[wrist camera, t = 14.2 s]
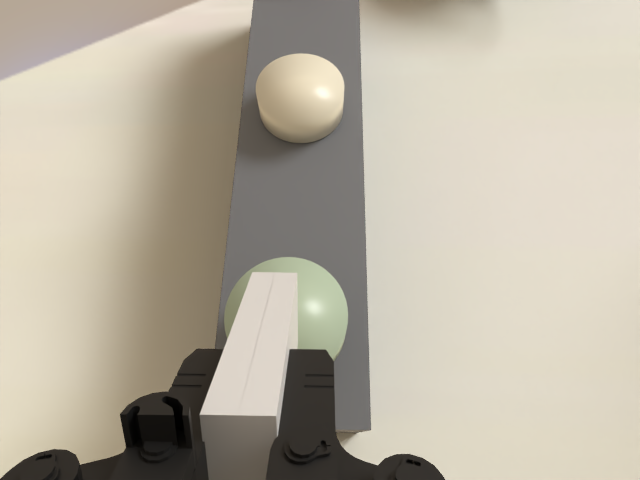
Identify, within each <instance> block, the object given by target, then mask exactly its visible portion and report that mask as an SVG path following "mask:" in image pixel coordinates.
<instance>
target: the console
mask: <svg viewBox="0 0 640 480" xmlns="http://www.w3.org/2000/svg"><path fill="white" fill-rule="evenodd" d="M299 53H303V54H312V55H316V56H319V57H322V58H324V59H326V60H328V61H329V62H331V63H332V64H333V65H335V66H336V68H337V69H338V70H339V71H340V73H341V75H342V77H343V80H344V103H343V115H342V118H341V121H340V123H339V124H338V126H337V127H336V128H335V130H334V131H333V132H331V133H330V134H329V135H327V136H326V137H324V138H322V139H320V140H317V141H313V142H309V143H292V142H288V141H284V140H282V139H279V138H277V137H276V136H274V135H273V134H272V133H270V132H269V131H268V130H267V129H266V127H265V126H264V124H263V122H262V120H261V116H260V111H259V106H258V101H257V96H256V82H257V79H258V76H259V75H260V73H261V72H262V70H263V69H264V68H265V67H266V66H267V65H268V64H269V63H271V62H272V61H274V60H276V59H278V58H280V57H283V56H286V55H290V54H299ZM280 257H296V258H302V259H306V260H309V261H312V262H314V263H316V264H318V265H319V266H321V267H323V268H324V269H325V270H327V271H328V272H329V273H330V274H331V275H332V276H333V277H334V278H335V279H336V281H337V282H338V284H339V285H340V287H341V289H342V291H343V293H344V296H345V298H346V302H347V307H348V325H347V330H346V335H345V340H344V343H343V346H342V349H341V351H340V353H339V355H338V356H337V358H336V359H335V361H334V389H335V431H336V432H356V433H358V432H363V431H369V430H371V415H370V378H369V342H368V306H367V270H366V234H365V198H364V162H363V125H362V89H361V53H360V17H359V0H254V1H253V10H252V19H251V28H250V37H249V47H248V56H247V65H246V74H245V83H244V92H243V101H242V110H241V119H240V128H239V137H238V146H237V155H236V164H235V173H234V182H233V191H232V200H231V209H230V218H229V227H228V236H227V245H226V254H225V263H224V272H223V281H222V290H221V299H220V308H219V317H218V326H217V335H216V344H215V349H224V347H225V345H226V342H227V336H226V332H225V325H224V314H225V308H226V304H227V300H228V298H229V295H230V293H231V291H232V289H233V288H234V286H235V284H236V283H237V282H238V281H239V279H240V278H241V277H242V276H243V275H244V274H245V273H246V272H248V271H249V270H250V269H252V268H253V267H255V266H257V265H258V264H260V263H262V262H265V261H267V260H271V259H275V258H280Z"/></svg>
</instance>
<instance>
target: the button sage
mask: <svg viewBox="0 0 640 480" xmlns="http://www.w3.org/2000/svg"><path fill="white" fill-rule="evenodd" d="M252 272H281V273H297V288H298V348H297V349H326V350H327V352H328V353H329V355H330V356H331V358H332V359H333V361H335V359H336V358H337V356H338V355H339V353H340V351H341V349H342V346H343V343H344V340H345V335H346V330H347V325H348V307H347V302H346V298H345V296H344V293H343V291H342V289H341V287H340V285H339V284H338V282H337V281H336V279H335V278H334V277H333V276H332V275H331V274H330V273H329V272H328V271H327V270H325V269H324V268H323V267H321V266H319V265H318V264H316V263H314V262H312V261H309V260H306V259H302V258H296V257H280V258H275V259H271V260H267V261H265V262H262V263H260V264H258V265H257V266H255V267H253V268H252V269H250V270H249V271H248V272H246V273H245V274H244V275H243V276H242V277H241V278H240V279H239V281H238V282H237V283H236V284H235V286H234V288H233V289H232V291H231V293H230V295H229V298H228V300H227V304H226V308H225V314H224V325H225V332H226V336H227V339H228V336H229V334H230V331H231V328H232V326H233V323H234V320H235V318H236V315H237V312H238V309H239V307H240V304H241V301H242V299H243V296H244V293H245V291H246V288H247V285H248V282H249V280H250V277H251V274H252Z"/></svg>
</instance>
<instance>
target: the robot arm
mask: <svg viewBox="0 0 640 480" xmlns="http://www.w3.org/2000/svg"><path fill="white" fill-rule="evenodd" d="M297 348H298V288H297V273H281V272H252V274H251V277H250V280H249V282H248V285H247V288H246V291H245V293H244V296H243V299H242V301H241V304H240V307H239V309H238V312H237V315H236V318H235V320H234V323H233V326H232V328H231V331H230V334H229V336H228V339H227V342H226V345H225V347H224V349H196V350H195V351H194V352H193V353H192V354H191V355H189V356H188V357H187V358H186V359H185V360H184V361H183V363H182V365H181V367H180V369H179V371H178V373H177V376H176V377H175V379H174V381H173V384H172V387H171V388H170V390H169V392H159V393H152V394H149V395H146V396H143V397H140V398H138V399H137V400H135V401H134V402H132V403H131V404H129V405H128V406H127V407H126V408H125V409H124V410H123V412H122V413H121V414H120V417H121V422H122V428H123V433H124V438H125V443H126V449H125V451H124V452H123V453H121V454H119V455H116V456H113V457H110V458H107V459H103V460H98V461H94V462H90V463H86V464H82V465H80V463H79V461H78V459H77V457H76V455H75V454H73V453H71V452H70V451H68V450H57V449H53V450H49V451H44V452H40V453H37V454H35V455H33V456H31V457H29V458H27V459H24V460H23V461H21V462H20V463H19V464H17V465H16V466H15V467H13V468H12V469H11V470H9V471H8V472H7V473H6V474H5V475H4V476H3V477H2V478H1V479H0V480H445V479H444V477H443V475H442V474H441V473H440V472H439V471H438V469H437V468H436V467H435V466H434V465H433V464H431V463H430V462H428V461H426V460H425V459H423V458H421V457H417V456H414V455H411V454H396V455H393V456H390V457H388V458H385V459H384V460H383V461H382V462H381V463H380V464H379V465H378V466H377V465H374V464H371V463H368V462H364V461H362V460H360V459H357V458H355V457H353V456H352V455H350V454H349V453H348V452H346V451H345V450H344V448H343V447H342V446H341V445H340V443H339V441H338V439H337V436H336V431H335V389H334V361H333V359H332V358H331V356H330V355H329V353H328V352H327V350H326V349H297Z"/></svg>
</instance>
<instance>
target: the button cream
mask: <svg viewBox="0 0 640 480" xmlns="http://www.w3.org/2000/svg"><path fill="white" fill-rule="evenodd" d="M256 96H257V101H258V106H259V111H260V116H261V120H262V122H263V124H264V126H265V127H266V129H267V130H268V131H269V132H270V133H272V134H273V135H274V136H276V137H277V138H279V139H282V140H284V141H288V142H292V143H309V142H313V141H317V140H320V139H322V138H324V137H326V136H327V135H329V134H330V133H331V132H333V131H334V130H335V128H336V127H337V126H338V124H339V123H340V121H341V118H342V115H343V103H344V80H343V77H342V75H341V73H340V71H339V70H338V69H337V68H336V66H335V65H333V64H332V63H331V62H329V61H328V60H326V59H324V58H322V57H319V56H316V55H312V54H303V53H299V54H290V55H286V56H283V57H280V58H278V59H276V60H274V61H272V62H271V63H269V64H268V65H267V66H266V67H265V68H264V69H263V70H262V72H261V73H260V75H259V76H258V79H257V82H256Z"/></svg>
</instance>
